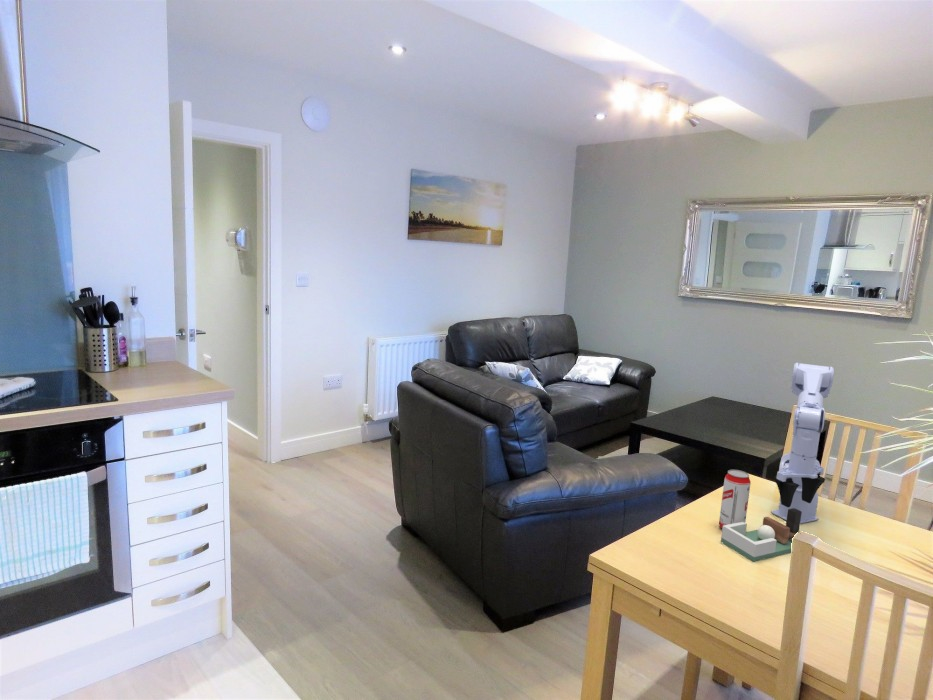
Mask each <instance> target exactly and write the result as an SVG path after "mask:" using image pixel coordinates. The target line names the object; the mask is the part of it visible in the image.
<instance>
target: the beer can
mask: <svg viewBox="0 0 933 700" xmlns="http://www.w3.org/2000/svg"><path fill="white" fill-rule="evenodd" d="M723 481H724V482H723V486H722V487H723V489H722V496H721V504H720V511H719V520H718V525H719V527H720V529H721V528H723V526H724V525H729V524H734V523H739V522H745V523H746V522H747V513H748V505H749V498H750V497H749V496H750V490H751V489H750V488H751V482H752V481H751V479H750V474H749V473H748V472H746V471H745V470H744V471H743V470H739V469H729V470H727V474H725V477H724V480H723Z"/></svg>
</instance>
